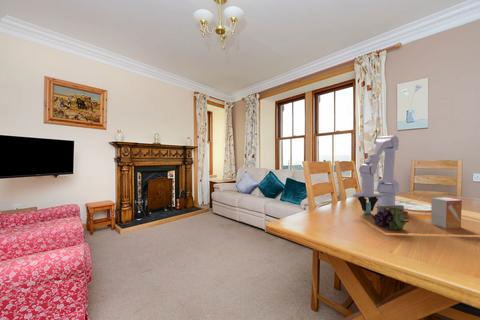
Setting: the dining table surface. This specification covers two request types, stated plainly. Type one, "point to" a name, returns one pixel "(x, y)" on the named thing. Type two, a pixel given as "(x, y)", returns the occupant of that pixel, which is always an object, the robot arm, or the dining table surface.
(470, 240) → the dining table surface
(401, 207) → the board
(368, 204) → the dowel
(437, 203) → the small box
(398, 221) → the fruit
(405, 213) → the block
